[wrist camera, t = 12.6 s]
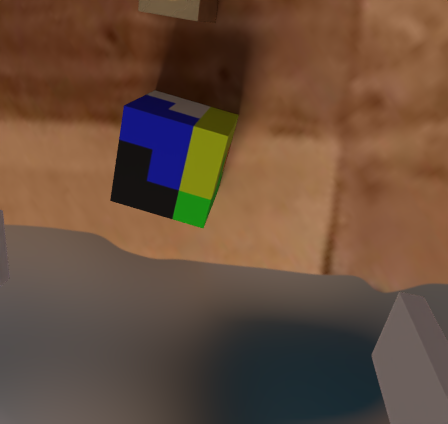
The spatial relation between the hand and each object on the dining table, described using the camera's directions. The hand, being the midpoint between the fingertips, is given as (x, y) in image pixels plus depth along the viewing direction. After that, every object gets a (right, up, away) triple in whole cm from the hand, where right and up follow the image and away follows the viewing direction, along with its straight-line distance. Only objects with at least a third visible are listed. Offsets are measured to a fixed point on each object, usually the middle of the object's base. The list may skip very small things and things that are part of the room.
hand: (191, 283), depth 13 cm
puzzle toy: (-3, +11, +34) cm, 36 cm away
